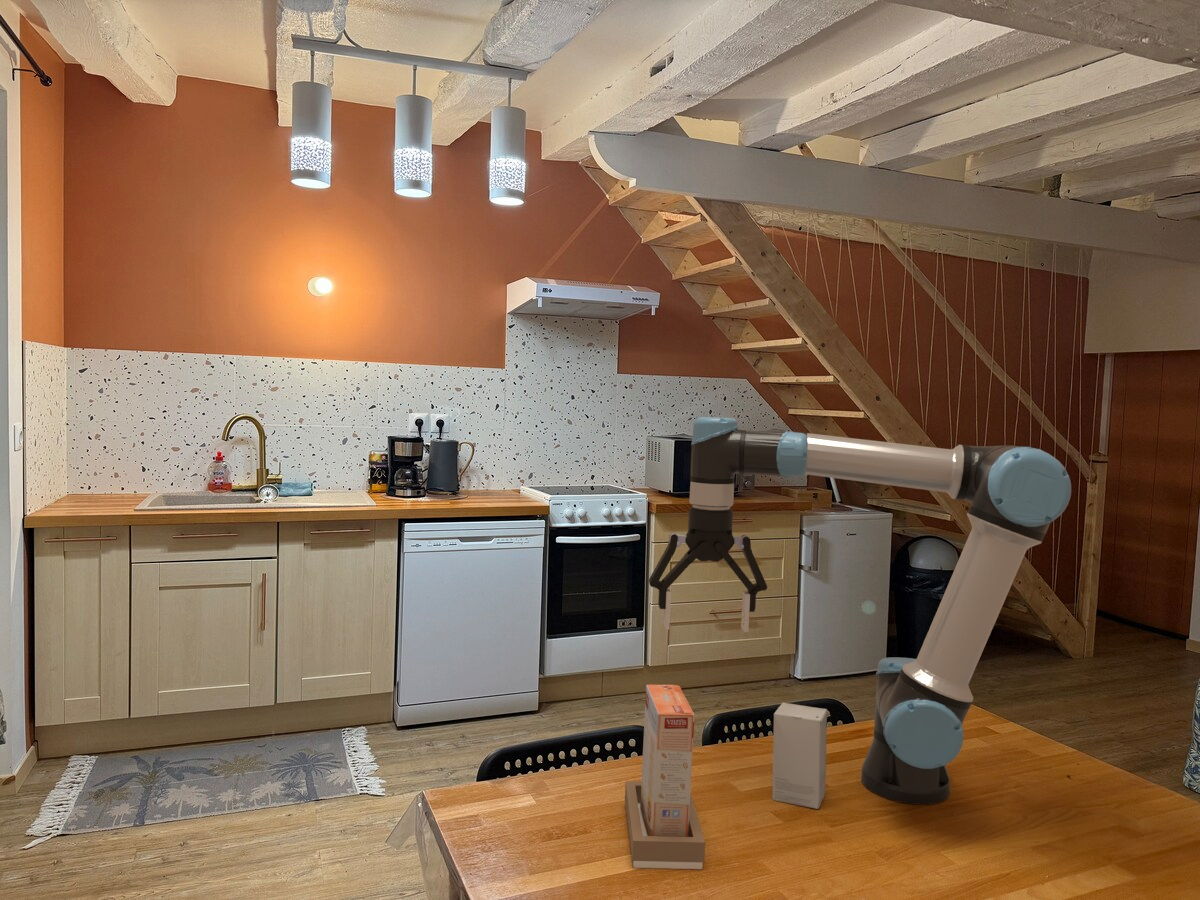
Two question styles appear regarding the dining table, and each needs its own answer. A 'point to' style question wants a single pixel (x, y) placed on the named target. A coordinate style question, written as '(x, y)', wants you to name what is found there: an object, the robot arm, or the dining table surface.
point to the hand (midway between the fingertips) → (705, 629)
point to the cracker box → (666, 761)
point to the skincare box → (799, 755)
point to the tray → (662, 838)
